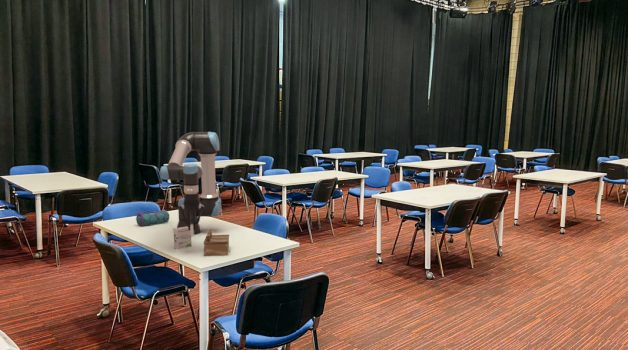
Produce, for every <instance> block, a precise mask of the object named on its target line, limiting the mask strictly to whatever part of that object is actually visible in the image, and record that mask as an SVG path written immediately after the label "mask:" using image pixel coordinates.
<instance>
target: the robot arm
mask: <svg viewBox="0 0 628 350" xmlns="http://www.w3.org/2000/svg"><path fill="white" fill-rule="evenodd" d="M174 146H175V147H174V148H175V149H174V151H173V153H172V155H171V158H170V159H169V162H168V164H167V165H163V166H161V167H160V169H159V173H160V174H159V175H160V178H161V179H162V180H168V181H169V180H170V181H171V180H173V181H174V180H175V181H179V180H180V181H181V180H183V192H184V194H183V197H180V198H179V199H178V201H177V202H178V204H177V209H178V211H177V212H178V223H177V226H176V228H180V227H188V230H190V233H191V238H192V237H195V235H197V234H200V233H201V230H202V229H201V226H200V224H199V222H200V220H201V217H206V218H207V217H211V218H212V217H218V216H220V212H221V208H222V198H220V197H219V194H218V193H217V187H216V186H217V185H216V184H217V183H216V159H215V158H216V156H217V154H218V152H219V151H220V140H219V136H218V134H217V133H216V132H213V131H191V132H187V133H185V134H184V135H183V134H182V136H181V137H179V139H178V140H177V141H176V143H175V145H174ZM193 151H195V152H197V154H198V155H199V157H200V165H198V164H196V163H185V161H186V157H187V156H188V154H189V153H190V152H193ZM184 163H185V164H184ZM199 179H201V194H200V195H199Z"/></svg>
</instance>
